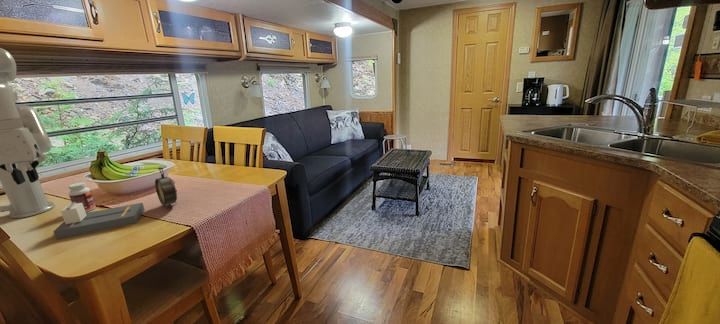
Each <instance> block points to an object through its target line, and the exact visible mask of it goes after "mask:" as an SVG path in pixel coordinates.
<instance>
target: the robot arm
mask: <svg viewBox="0 0 720 324" xmlns="http://www.w3.org/2000/svg"><path fill="white" fill-rule="evenodd" d="M16 78H17V63H16V60H15V59H14V56H13V55H12V54H11V53H10V52H9V51H8V50H7V49H4V48H2V47H0V183H1V186H2V188H3V191H4V193H5V195H6V197H7V199H8V202H9V204H8V205H7V204H5V205H0V213H6V212H9V214H8V216H9V218H11V219H22V218H27V217H31V216H35V215H38V214H42V213H45V212H47V211H49V210H51V209H53V208H54V207H55V205H56V204H55V203H54V202H53V201H48V199H47V196H46V194H45V192H44V189H43V187H42V184H41V181H40V180H39V173H38V171H37V168H38V166H39V164H41V163H42V162H45V161H46V160H48V157H47V156H45V153H49V152H50V151H52V147H53V146H52V142H51V139H50V137H49V134H48V133H47V131H46V129H45V127H44V124H43V123H42V121H41V118H40V116H39V115H38V113H37V111H36V110H35V109H34V108H32V106H30V105H24V104H23V105H22V104H21V105H16V104H17V101H18V100H19V96H18V92H17V90H16V89H15V87H13V86H11V85H10V84H8V82H9V83H10V82H13V81H15V80H16Z"/></svg>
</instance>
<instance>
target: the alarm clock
mask: <svg viewBox="0 0 720 324" xmlns="http://www.w3.org/2000/svg"><path fill="white" fill-rule="evenodd" d="M158 170H159V172H160V176H161V177H157V178H155V182H154V183H155V184H154V185H155V191H156V194H157V197H158V200H159V202H160V204H161V206H163V207H165V206H168V208H169V209H170V210H172V209H173V208H172V204H174V203H175V204H177V200H178V199H177V198H178V193H177V192H178V190H177V189H176V185H175V184H174V183H175V182H174V181H173V179H172V178H171V177H169V176H165V174H164V170H163V168H162V167H160V166H159V167H158Z"/></svg>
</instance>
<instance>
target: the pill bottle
mask: <svg viewBox="0 0 720 324" xmlns="http://www.w3.org/2000/svg"><path fill="white" fill-rule="evenodd" d="M68 188H69V189H68V190H69V192H68V196H69V199H70V201H71V204H72V203H73V202H76V204H77V203H82V204H83V206H84V209H85V212H86V213H89V212H92V211H93V210H95V208H96V206H97V205H96V203H95V200H94V198H93V195H92V191H91V189H90V187H87V185H86V182H83V181H82V182H80V181H79V182H76V183H73V184H69V185H68Z"/></svg>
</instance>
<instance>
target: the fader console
mask: <svg viewBox="0 0 720 324" xmlns="http://www.w3.org/2000/svg"><path fill="white" fill-rule="evenodd" d="M144 212H145V206H144V203H143V202H139V203H134V204H133V203H132V204H129V205H128V204H126V205H123V206H122V205H121V206H117V207H111V208H107V209H106V208H105V209H100V210H95V211H88V212H86V215H87V216H86V217H85V218H84V219H83V220H82V221H81V222H76V223H71V224H66V223H65V221H63V222H62V223H61V224H59V226H58V227H56V229H54V230H53V231H52V232H53V234H54V236H55V239H56V240H61V239H66V238H70V237H76V236H81V235H86V234H90V233H95V232H101V231H105V230H110V229H115V228H120V227H124V226H125V227H126V226H129V225H130V226H131V225H136V224H138V222H139V220H140V218H141V217H142V215H143V213H144Z"/></svg>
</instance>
